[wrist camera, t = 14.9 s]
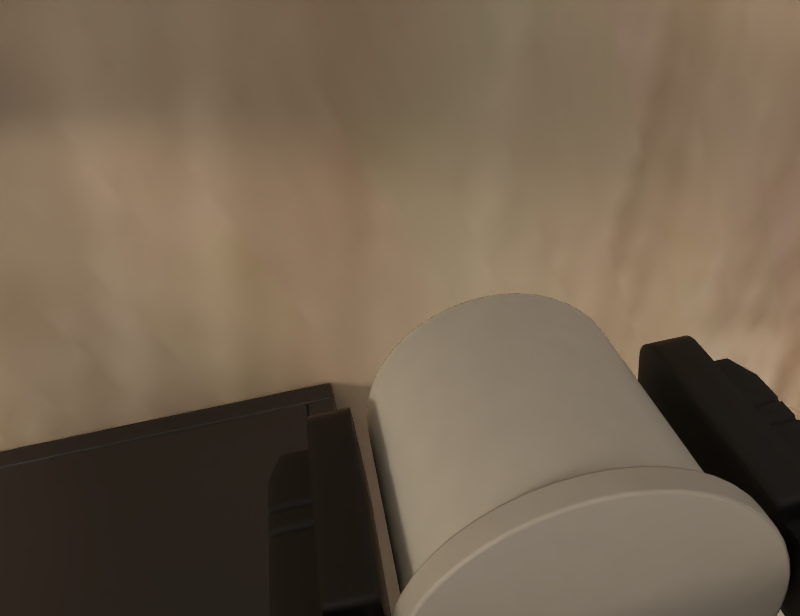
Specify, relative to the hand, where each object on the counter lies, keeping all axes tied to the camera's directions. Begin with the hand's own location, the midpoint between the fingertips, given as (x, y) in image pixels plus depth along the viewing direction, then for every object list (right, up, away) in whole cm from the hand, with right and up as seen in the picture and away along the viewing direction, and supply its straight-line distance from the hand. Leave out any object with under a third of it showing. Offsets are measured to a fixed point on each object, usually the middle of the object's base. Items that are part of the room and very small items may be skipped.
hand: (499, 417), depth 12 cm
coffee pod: (0, 0, 0) cm, 0 cm away
